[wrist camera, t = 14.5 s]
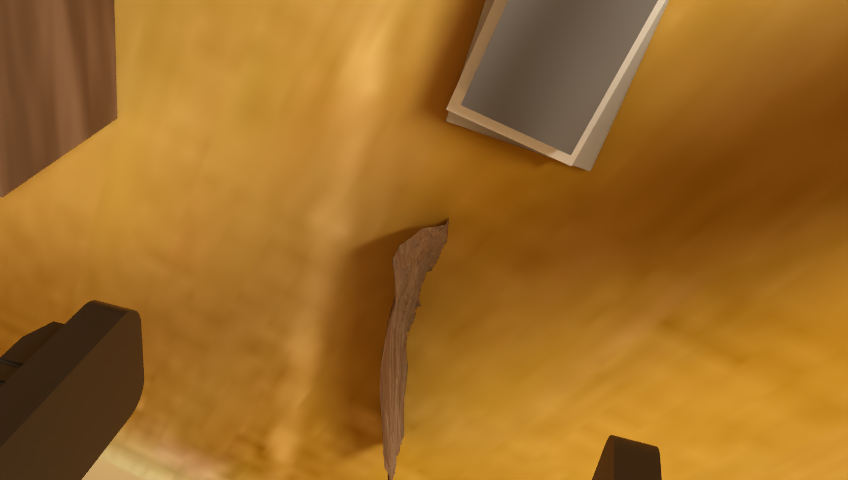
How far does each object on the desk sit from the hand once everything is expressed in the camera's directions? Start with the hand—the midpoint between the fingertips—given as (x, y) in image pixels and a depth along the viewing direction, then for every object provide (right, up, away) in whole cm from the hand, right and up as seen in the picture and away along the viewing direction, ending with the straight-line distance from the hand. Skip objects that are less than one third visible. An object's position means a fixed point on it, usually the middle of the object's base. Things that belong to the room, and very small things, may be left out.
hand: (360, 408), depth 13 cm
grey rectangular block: (+7, +12, +18) cm, 22 cm away
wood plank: (+1, -2, +30) cm, 30 cm away
